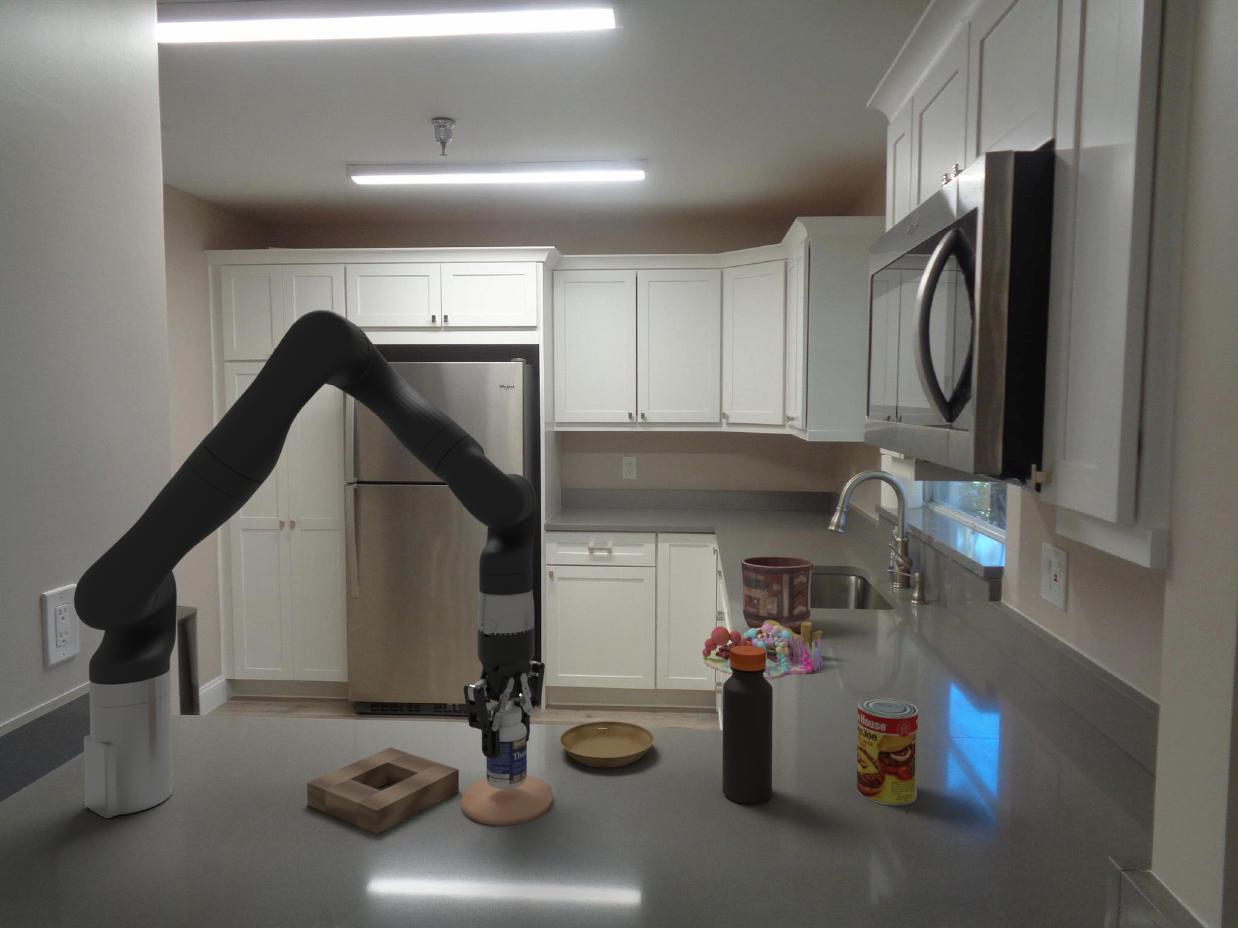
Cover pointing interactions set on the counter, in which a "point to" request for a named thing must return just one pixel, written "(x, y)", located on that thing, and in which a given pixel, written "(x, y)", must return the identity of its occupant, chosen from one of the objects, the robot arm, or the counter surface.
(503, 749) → the pill bottle
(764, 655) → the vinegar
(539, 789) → the salmon pink disc
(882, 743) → the canned food
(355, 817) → the block
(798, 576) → the pottery
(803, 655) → the candy landscape model
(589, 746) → the plant saucer
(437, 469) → the robot arm
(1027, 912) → the counter surface
